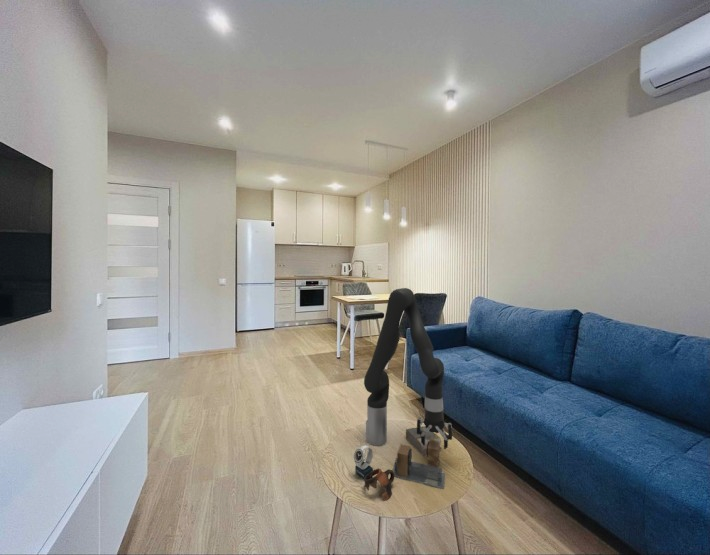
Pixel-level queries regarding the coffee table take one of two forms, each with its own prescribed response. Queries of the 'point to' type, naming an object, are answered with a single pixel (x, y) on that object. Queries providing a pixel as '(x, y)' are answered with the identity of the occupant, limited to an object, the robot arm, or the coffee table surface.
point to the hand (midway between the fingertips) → (434, 446)
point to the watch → (361, 466)
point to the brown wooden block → (433, 453)
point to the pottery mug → (380, 481)
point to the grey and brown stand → (416, 469)
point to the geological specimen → (416, 439)
